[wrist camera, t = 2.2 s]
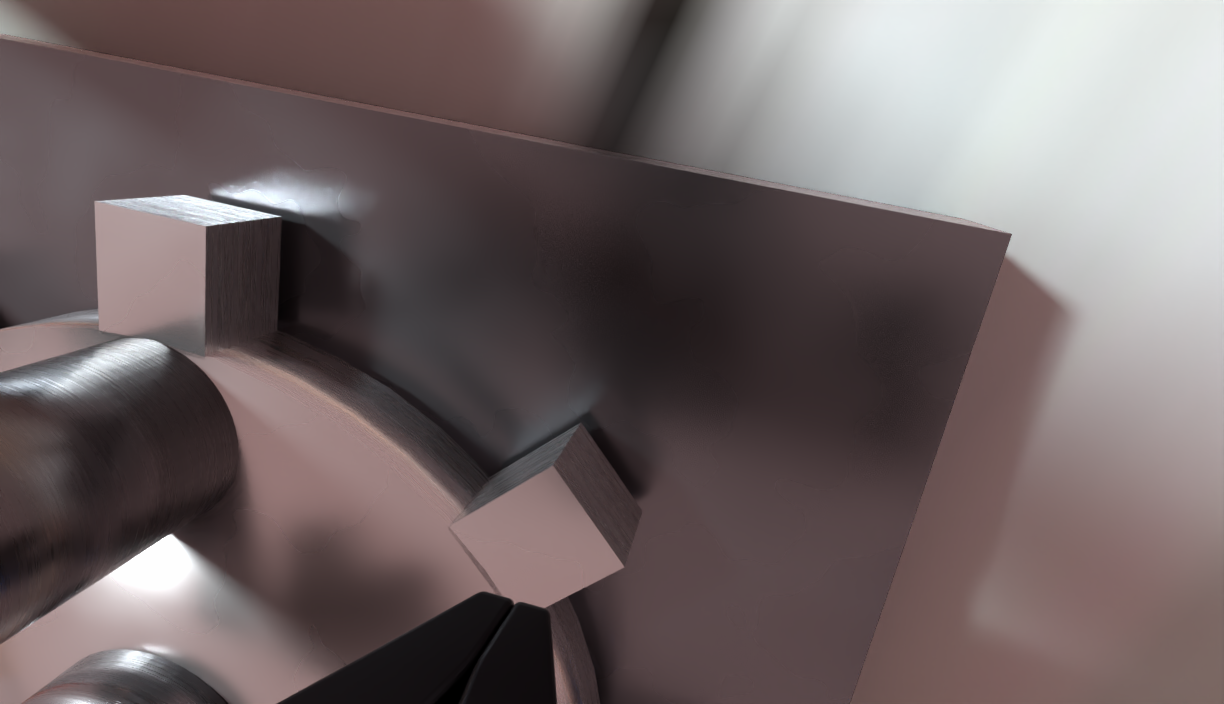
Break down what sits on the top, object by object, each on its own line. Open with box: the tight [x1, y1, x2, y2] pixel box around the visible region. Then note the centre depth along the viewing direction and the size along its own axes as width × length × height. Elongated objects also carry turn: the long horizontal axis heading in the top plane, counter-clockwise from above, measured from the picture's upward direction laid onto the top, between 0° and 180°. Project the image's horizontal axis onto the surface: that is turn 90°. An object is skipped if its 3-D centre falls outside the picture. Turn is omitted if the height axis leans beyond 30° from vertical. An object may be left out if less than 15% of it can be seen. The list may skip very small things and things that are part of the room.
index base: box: [0, 33, 1012, 704], centre depth 15 cm, size 24×24×6 cm
